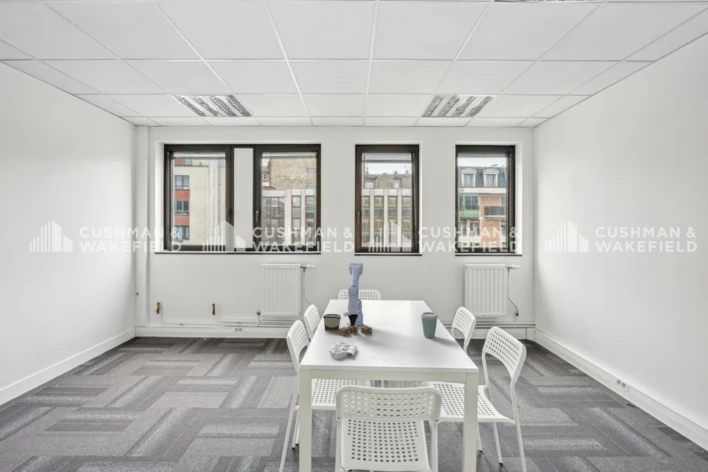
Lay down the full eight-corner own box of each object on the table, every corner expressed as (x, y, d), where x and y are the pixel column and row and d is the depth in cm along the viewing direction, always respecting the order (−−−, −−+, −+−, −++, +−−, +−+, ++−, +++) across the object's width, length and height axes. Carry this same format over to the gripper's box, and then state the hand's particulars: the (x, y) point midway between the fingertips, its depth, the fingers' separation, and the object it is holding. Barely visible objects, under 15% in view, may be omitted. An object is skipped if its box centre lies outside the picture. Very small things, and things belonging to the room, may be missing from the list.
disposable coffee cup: (437, 340, 212) (438, 316, 211) (420, 338, 214) (420, 315, 214) (436, 334, 222) (437, 312, 222) (420, 333, 224) (420, 311, 224)
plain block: (353, 331, 227) (353, 325, 227) (357, 332, 223) (357, 326, 223) (347, 332, 223) (347, 326, 223) (351, 334, 220) (352, 328, 219)
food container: (342, 328, 231) (342, 314, 231) (340, 331, 225) (341, 316, 225) (324, 327, 232) (324, 313, 232) (322, 330, 226) (322, 315, 226)
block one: (366, 332, 225) (366, 325, 225) (371, 333, 221) (371, 327, 221) (360, 333, 222) (361, 327, 222) (366, 335, 218) (366, 329, 218)
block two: (344, 332, 222) (345, 326, 222) (349, 334, 218) (349, 328, 218) (338, 334, 219) (339, 328, 219) (343, 336, 215) (343, 330, 215)
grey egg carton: (352, 361, 176) (325, 358, 179) (358, 349, 194) (333, 346, 197) (352, 354, 176) (325, 352, 179) (358, 343, 194) (333, 341, 197)
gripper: (348, 307, 215) (348, 329, 215) (365, 304, 224) (364, 325, 225) (341, 305, 220) (341, 326, 221) (358, 302, 230) (357, 322, 230)
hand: (352, 325), depth 223 cm, fingers closed
